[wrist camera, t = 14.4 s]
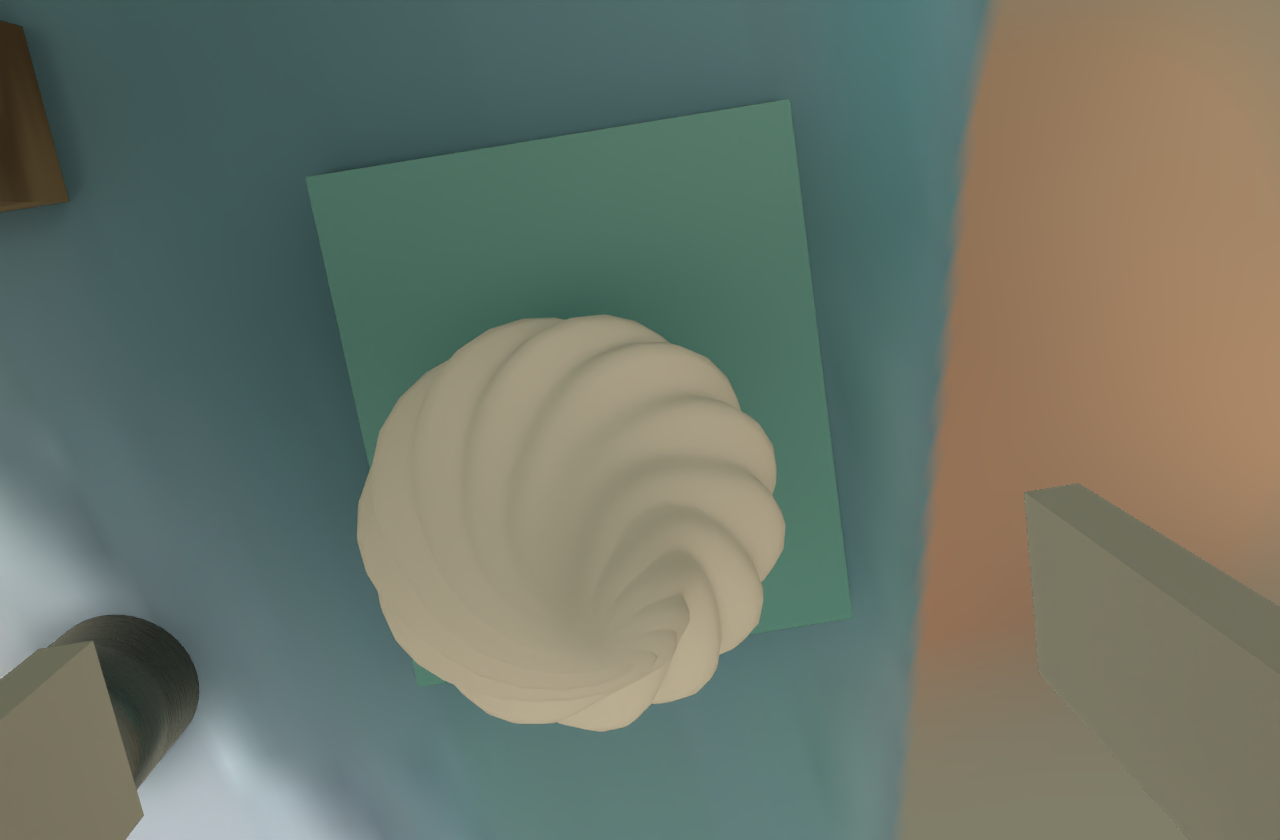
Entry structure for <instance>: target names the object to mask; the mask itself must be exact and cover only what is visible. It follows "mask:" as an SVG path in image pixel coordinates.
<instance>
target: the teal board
mask: <svg viewBox="0 0 1280 840" xmlns="http://www.w3.org/2000/svg"><path fill="white" fill-rule="evenodd" d="M305 179H306V184H307V188H308V193H309V197H310V202H311V206H312V211H313V215H314V220H315V224H316V229H317V233H318V238H319V242H320V247H321V252H322V256H323V261H324V265H325V270H326V274H327V279H328V283H329V288H330V292H331V297H332V301H333V306H334V310H335V315H336V319H337V324H338V328H339V333H340V337H341V342H342V347H343V351H344V356H345V360H346V365H347V369H348V374H349V378H350V383H351V387H352V392H353V396H354V401H355V405H356V410H357V414H358V419H359V423H360V428H361V432H362V437H363V442H364V446H365V451H366V455H367V460H368V464H369V469H370V468H371V466H372V463H373V458H374V454H375V449H376V445H377V440H378V436H379V431H380V430H381V428H382V426H383V425H384V423H385V421H386V419H387V418H388V416H389V414H390V413H391V411H392V409H393V408H394V406H395V404H396V403H397V401H398V399H399V398H400V397H401V396H402V395H403V394H404V393H405V392H406V391H407V390H408V389H409V388H410V387H411V386H412V385H413V384H415V383H416V382H417V381H418V380H419V379H420V378H421V377H422V376H423V375H424V374H425V373H426V372H428V371H429V370H431V369H433V368H435V367H437V366H438V365H440V364H442V363H444V362H445V361H447V360H449V359H450V358H451V357H452V356H453V355H454V354H455V353H456V351H457V350H459V349H460V348H462V347H463V346H465V345H466V344H467V343H469V342H470V341H472V340H473V339H475V338H476V337H478V336H479V335H481V334H482V333H484V332H485V331H487V330H488V329H491V328H494V327H497V326H501V325H504V324H507V323H510V322H514V321H517V320H520V319H527V318H559V319H564V320H566V319H569V318H574V317H584V316H593V315H603V314H606V315H610V316H615V317H620V318H624V319H629V320H633V321H636V322H638V323H640V324H642V325H643V326H645V327H647V328H649V329H650V330H652V331H654V332H656V333H657V334H659V335H661V336H662V337H663V338H664V339H665V340H667V341H668V342H669V343H671V344H675V345H679V346H681V347H684V348H686V349H688V350H691V351H693V352H695V353H698V354H700V355H703V356H705V357H707V358H708V359H709V360H710V361H711V362H712V363H713V364H714V365H715V366H716V367H718V368H719V369H720V370H721V371H722V372H723V373H724V374H725V375H726V376H727V378H728V380H729V382H730V384H731V386H732V388H733V390H734V392H735V394H736V397H737V399H738V402H739V405H740V409H741V411H742V412H744V413H746V414H748V415H749V416H750V417H751V418H753V419H754V420H755V421H756V422H758V423H759V424H760V426H761V427H762V429H763V430H764V432H765V434H766V435H767V437H768V438H769V440H770V441H771V443H772V444H773V447H774V454H775V461H776V469H777V473H776V485H775V488H774V492H773V497H774V499H775V501H776V502H777V504H778V506H779V508H780V510H781V511H782V514H783V518H784V522H785V525H786V526H785V539H784V549H783V551H782V553H781V554H780V556H779V558H778V559H777V561H776V563H775V565H774V566H773V568H772V570H771V571H770V572H769V574H768V575H767V576H766V578H765V579H764V580H763V581H762V582H761V584H762V586H763V605H762V610H761V615H760V620H759V623H758V625H757V626H756V627H755V628H754V629H753V630H752V631H751V632H750V634H757V633H763V632H769V631H776V630H782V629H788V628H795V627H801V626H807V625H813V624H820V623H826V622H832V621H839V620H845V619H851V618H853V616H852V608H851V600H850V592H849V583H848V575H847V567H846V559H845V550H844V542H843V534H842V526H841V517H840V509H839V501H838V493H837V484H836V476H835V468H834V460H833V451H832V443H831V435H830V427H829V418H828V410H827V402H826V394H825V385H824V377H823V369H822V361H821V352H820V344H819V336H818V327H817V319H816V311H815V303H814V294H813V286H812V278H811V270H810V261H809V253H808V245H807V237H806V228H805V220H804V212H803V204H802V195H801V187H800V179H799V171H798V162H797V154H796V146H795V138H794V129H793V121H792V113H791V105H790V99H786V100H780V101H774V102H768V103H762V104H755V105H749V106H743V107H737V108H731V109H724V110H718V111H712V112H706V113H700V114H693V115H687V116H681V117H675V118H669V119H662V120H656V121H650V122H644V123H638V124H632V125H625V126H619V127H613V128H607V129H601V130H594V131H588V132H582V133H576V134H570V135H563V136H557V137H551V138H545V139H539V140H533V141H526V142H520V143H514V144H508V145H502V146H495V147H489V148H483V149H477V150H471V151H464V152H458V153H452V154H446V155H440V156H434V157H427V158H421V159H415V160H409V161H403V162H396V163H390V164H384V165H378V166H372V167H365V168H359V169H353V170H347V171H341V172H335V173H328V174H322V175H316V176H310V177H305ZM750 634H749V635H750ZM411 659H412V658H411ZM412 663H413V668H414V672H415V677H416V681H417V686H418V687H423V686H429V685H436V684H442V683H448V682H447V681H444V680H442V679H441V678H439V677H437V676H436V675H434V674H433V673H431V672H429V671H428V670H426V669H425V668H423V667H421V666H420V665H418V664H417V663H416V662H415V661H414V660H413V659H412Z"/></svg>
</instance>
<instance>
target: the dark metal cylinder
mask: <svg viewBox="0 0 1280 840" xmlns="http://www.w3.org/2000/svg"><path fill="white" fill-rule="evenodd" d="M87 641H93V642H94V646H95V649H96V653H97V656H98V660H99V663H100V666H101V670H102V673H103V677H104V680H105V684H106V687H107V690H108V694H109V697H110V701H111V704H112V708H113V711H114V714H115V718H116V721H117V725H118V728H119V732H120V735H121V738H122V742H123V745H124V749H125V752H126V756H127V759H128V762H129V766H130V769H131V773H132V776H133V780H134V783H135V786H136V790H137V789H138V788H139V786H140V785H141V784H142V783H143V781H144V780H145V779H146V778H147V776H148V775H149V774H150V773H151V771H152V770H153V769H154V768H155V766H156V765H157V764H158V763H159V761H160V760H161V759H162V758H163V756H164V755H165V754H166V753H167V751H168V750H169V749H170V748H171V746H172V745H173V744H174V743H175V741H176V740H177V739H178V738H179V736H180V735H181V734H182V733H183V731H184V730H185V729H186V728H187V726H188V725H189V723H190V722H191V720H192V718H193V716H194V714H195V711H196V708H197V704H198V699H199V682H198V677H197V673H196V670H195V667H194V664H193V662H192V660H191V658H190V656H189V655H188V653H187V652H186V650H185V649H184V648H183V646H182V645H181V644H180V643H179V642H178V641H177V640H176V639H175V638H174V637H173V636H172V635H171V634H169V633H168V632H167V631H165V630H164V629H162V628H161V627H159V626H157V625H155V624H153V623H151V622H149V621H146V620H144V619H140V618H136V617H133V616H126V615H105V616H99V617H95V618H91V619H88V620H86V621H83V622H81V623H79V624H77V625H76V626H74V627H73V628H71V629H70V630H69V631H67V632H66V633H65V634H63V635H62V636H61V637H60V638H58V639H57V640H56V641H55V642H53V643H52V644H51V645H50V646H48V647H47V648H49V647H55V646H62V645H68V644H74V643H80V642H87Z"/></svg>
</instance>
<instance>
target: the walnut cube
mask: <svg viewBox="0 0 1280 840" xmlns="http://www.w3.org/2000/svg"><path fill="white" fill-rule="evenodd" d="M68 201H69V199H68V195H67V191H66V188H65V184H64V180H63V176H62V173H61V169H60V165H59V161H58V158H57V154H56V150H55V147H54V143H53V139H52V135H51V132H50V128H49V124H48V120H47V117H46V113H45V109H44V106H43V102H42V98H41V94H40V91H39V87H38V83H37V80H36V76H35V72H34V68H33V65H32V61H31V57H30V53H29V50H28V46H27V42H26V39H25V35H24V31H23V27H22V26H18V25H15V24H11V23H8V22H4V21H1V20H0V212H6V211H12V210H18V209H24V208H30V207H37V206H43V205H49V204H55V203H62V202H68Z"/></svg>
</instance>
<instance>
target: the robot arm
mask: <svg viewBox="0 0 1280 840" xmlns="http://www.w3.org/2000/svg"><path fill="white" fill-rule="evenodd" d="M1024 496H1025V509H1026V521H1027V534H1028V546H1029V559H1030V570H1031V583H1032V594H1033V595H1032V596H1033V608H1034V621H1035V632H1036V646H1037V658H1038V670H1039V674H1040V675H1041V676H1042V677H1043V678H1044V680H1045V681H1046V682H1047V683H1048V684H1049V685H1050V686H1051V688H1052V689H1053V690H1054V691H1055V692H1056V693H1057V694H1058V695H1059V696H1060V698H1061V699H1062V700H1063V701H1064V702H1065V703H1066V704H1067V705H1068V706H1069V708H1070V709H1071V710H1072V711H1073V712H1074V713H1075V714H1076V715H1077V716H1078V718H1079V719H1080V720H1081V721H1082V722H1083V723H1084V724H1085V725H1086V726H1087V727H1088V729H1089V730H1090V731H1091V732H1092V733H1093V734H1094V735H1095V736H1096V738H1097V739H1098V740H1099V741H1100V742H1101V743H1102V744H1103V745H1104V746H1105V748H1106V749H1107V750H1108V751H1109V752H1110V753H1111V754H1112V755H1113V757H1114V758H1115V759H1116V760H1117V761H1118V762H1119V763H1120V764H1121V765H1122V767H1123V768H1124V769H1125V770H1126V771H1127V772H1128V773H1129V774H1130V775H1131V777H1132V778H1133V779H1134V780H1135V781H1136V782H1137V783H1138V784H1139V785H1140V786H1141V788H1142V789H1143V790H1144V791H1145V792H1146V793H1147V794H1148V795H1149V797H1150V798H1151V799H1152V800H1153V801H1154V802H1155V803H1156V804H1157V805H1158V806H1159V808H1160V809H1161V810H1162V811H1163V812H1164V813H1165V814H1166V815H1167V817H1168V818H1169V819H1170V820H1171V821H1172V822H1173V823H1174V824H1175V825H1176V827H1177V828H1178V829H1179V830H1180V831H1181V832H1182V833H1183V834H1184V835H1185V837H1186V838H1187V839H1188V840H1280V606H1278V605H1276V604H1275V603H1273V602H1271V601H1270V600H1268V599H1267V598H1265V597H1263V596H1262V595H1260V594H1258V593H1257V592H1255V591H1253V590H1252V589H1250V588H1249V587H1247V586H1245V585H1244V584H1242V583H1240V582H1239V581H1237V580H1236V579H1234V578H1232V577H1231V576H1229V575H1227V574H1226V573H1224V572H1223V571H1221V570H1219V569H1218V568H1216V567H1214V566H1213V565H1211V564H1209V563H1208V562H1206V561H1205V560H1203V559H1201V558H1200V557H1198V556H1196V555H1195V554H1193V553H1192V552H1190V551H1188V550H1187V549H1185V548H1183V547H1182V546H1180V545H1178V544H1177V543H1175V542H1173V541H1172V540H1170V539H1169V538H1167V537H1165V536H1164V535H1162V534H1161V533H1159V532H1157V531H1156V530H1154V529H1152V528H1151V527H1149V526H1147V525H1146V524H1144V523H1142V522H1141V521H1139V520H1138V519H1136V518H1134V517H1133V516H1131V515H1129V514H1128V513H1126V512H1125V511H1123V510H1121V509H1120V508H1118V507H1116V506H1115V505H1113V504H1112V503H1110V502H1108V501H1107V500H1105V499H1103V498H1102V497H1100V496H1099V495H1097V494H1095V493H1094V492H1092V491H1090V490H1089V489H1087V488H1085V487H1084V486H1082V485H1081V484H1072V485H1066V486H1059V487H1053V488H1047V489H1040V490H1034V491H1028V492H1024ZM143 816H144V814H143V810H142V807H141V804H140V800H139V797H138V793H137V790H136V786H135V783H134V780H133V776H132V773H131V769H130V766H129V762H128V759H127V756H126V752H125V749H124V745H123V742H122V738H121V735H120V732H119V728H118V725H117V721H116V718H115V714H114V711H113V708H112V704H111V701H110V697H109V694H108V690H107V687H106V684H105V680H104V677H103V673H102V670H101V666H100V663H99V660H98V656H97V653H96V649H95V646H94V642H93V641H87V642H80V643H74V644H68V645H62V646H55V647H49V648H43V649H38V650H37V651H36V652H35V653H33V654H32V655H31V656H30V657H28V658H27V659H26V660H25V661H23V662H22V663H21V664H20V665H18V666H17V667H16V668H14V669H13V670H12V671H11V672H9V673H8V674H7V675H6V676H4V677H3V678H2V679H1V680H0V840H126V838H127V837H128V836H129V834H130V833H131V832H132V830H133V829H134V828H135V826H136V825H137V824H138V822H139V821H140V820H141V818H142V817H143Z"/></svg>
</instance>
